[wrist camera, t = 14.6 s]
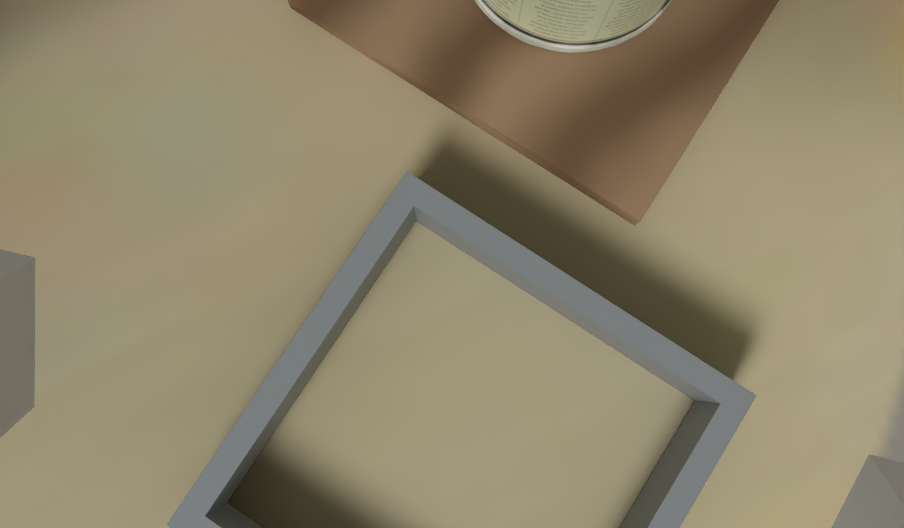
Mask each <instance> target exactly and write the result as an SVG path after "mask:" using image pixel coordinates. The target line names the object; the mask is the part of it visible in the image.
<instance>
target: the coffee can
mask: <svg viewBox="0 0 904 528" xmlns="http://www.w3.org/2000/svg"><path fill="white" fill-rule="evenodd" d="M474 1H475V2H476V4H477V5H478V6H479V7H480V9H481V10H482V11H483V12H484V13H485V14H486V16H488V17H489V18H490V19H491V20H492V21H493V22H494V23H495V24H496V25H497V26H499V27H500V28H501V29H503V30H504V31H506V32H507V33H509V34H510V35H512V36H514V37H515V38H517V39H519V40H520V41H522V42H525V43H527V44H530V45H533V46H537V47H541V48H544V49H547V50H551V51H557V52H569V53H580V52H591V51H597V50H601V49H605V48H608V47H613V46H617V45H619V44H621V43H623V42H625V41H626V40H629V39H631V38H633V37H635V36H637V35H638V34H640V33H641V32H643V31H644V30H645V29H647V28H648V27H649V26H651V25H652V24H653V23H654V22H655V21H656V20H657V19H658V18H659V17H660V16H661V15H662V14H663V12H664V11H665V10H666V9H667V7H668V6H669V5H670V3H671V2H672V0H474Z"/></svg>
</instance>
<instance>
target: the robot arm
mask: <svg viewBox="0 0 904 528" xmlns="http://www.w3.org/2000/svg"><path fill="white" fill-rule="evenodd" d="M34 391H35V258H34V257H30V256H26V255H22V254H17V253H13V252H9V251H5V250H0V437H2V436H3V435H4V434H5V433H6V432H7V431H8V430H9V429H10V428H11V427H13V426H14V425H15V424H16V423H17V422H18V421H19V420H20V419H21V418H22V417H24V416H25V415H26V414H27V413H28V412H29V411H30V410H31V409H32V408H33V407H34ZM832 528H904V463H903V462H899V461H895V460H891V459H886V458H882V457H878V456H874V455H870V454H869V455H868V457H867V459H866V461H865V463H864V465H863V467H862V469H861V471H860V473H859V475H858V477H857V479H856V481H855V483H854V485H853V487H852V489H851V491H850V493H849V494H848V496H847V498H846V500H845V502H844V504H843V506H842V508H841V510H840V512H839V514H838V516H837V518H836V520H835V522H834V524H833V526H832Z"/></svg>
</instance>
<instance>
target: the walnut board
mask: <svg viewBox="0 0 904 528" xmlns="http://www.w3.org/2000/svg"><path fill="white" fill-rule="evenodd" d="M778 1H779V0H672V2H671V3H670V5H669V6H668V7H667V9H666V10H665V11H664V12H663V14H662V15H661V16H660V17H659V18H658V19H657V20H656V21H655V22H654V23H653V24H652V25H651V26H649V27H648V28H647V29H645V30H644V31H643V32H641V33H640V34H638V35H637V36H635V37H633V38H631V39H629V40H626V41H625V42H623V43H621V44H619V45H617V46H613V47H608V48H605V49H601V50H597V51H591V52H580V53H569V52H557V51H551V50H547V49H544V48H541V47H537V46H533V45H530V44H527V43H525V42H522V41H520V40H519V39H517V38H515V37H514V36H512V35H510V34H509V33H507V32H506V31H504V30H503V29H501V28H500V27H499V26H497V25H496V24H495V23H494V22H493V21H492V20H491V19H490V18H489V17H488V16H486V14H485V13H484V12H483V11H482V10H481V9H480V7H479V6H478V5H477V4H476V2H475V1H474V0H288V2H289V4H290V7H291V8H292V9H294V10H295V11H297V12H298V13H300V14H301V15H303V16H305V17H306V18H308V19H309V20H311V21H313V22H314V23H316V24H317V25H319V26H320V27H322V28H324V29H325V30H327V31H328V32H330V33H331V34H333V35H335V36H336V37H338V38H339V39H341V40H343V41H344V42H346V43H347V44H349V45H350V46H352V47H354V48H355V49H357V50H358V51H360V52H361V53H363V54H365V55H366V56H368V57H369V58H371V59H373V60H374V61H376V62H377V63H379V64H380V65H382V66H384V67H385V68H387V69H388V70H390V71H392V72H393V73H395V74H396V75H398V76H399V77H401V78H403V79H404V80H406V81H407V82H409V83H410V84H412V85H414V86H415V87H417V88H418V89H420V90H422V91H423V92H425V93H426V94H428V95H429V96H431V97H433V98H434V99H436V100H437V101H439V102H440V103H442V104H444V105H445V106H447V107H448V108H450V109H452V110H453V111H455V112H456V113H458V114H459V115H461V116H463V117H464V118H466V119H467V120H469V121H470V122H472V123H474V124H475V125H477V126H478V127H480V128H482V129H483V130H485V131H486V132H488V133H489V134H491V135H493V136H494V137H496V138H497V139H499V140H500V141H502V142H504V143H505V144H507V145H508V146H510V147H512V148H513V149H515V150H516V151H518V152H519V153H521V154H523V155H524V156H526V157H527V158H529V159H531V160H532V161H534V162H535V163H537V164H538V165H540V166H542V167H543V168H545V169H546V170H548V171H549V172H551V173H553V174H554V175H556V176H557V177H559V178H561V179H562V180H564V181H565V182H567V183H568V184H570V185H572V186H573V187H575V188H576V189H578V190H579V191H581V192H583V193H584V194H586V195H587V196H589V197H591V198H592V199H594V200H595V201H597V202H598V203H600V204H602V205H603V206H605V207H606V208H608V209H609V210H611V211H613V212H614V213H616V214H617V215H619V216H621V217H622V218H624V219H625V220H627V221H628V222H630V223H632V224H633V225H636V224H637V223H638V222H640V221H641V219H642V218H643V216H644V215H645V213H646V211H647V210H648V208H649V207H650V205H651V203H652V202H653V200H654V199H655V197H656V195H657V194H658V192H659V191H660V189H661V187H662V186H663V184H664V183H665V181H666V179H667V178H668V176H669V175H670V173H671V171H672V170H673V168H674V167H675V165H676V163H677V162H678V160H679V159H680V157H681V155H682V154H683V152H684V151H685V149H686V148H687V146H688V144H689V143H690V141H691V140H692V138H693V136H694V135H695V133H696V132H697V130H698V128H699V127H700V125H701V124H702V122H703V120H704V119H705V117H706V116H707V114H708V112H709V111H710V109H711V108H712V106H713V104H714V103H715V101H716V100H717V98H718V96H719V95H720V93H721V92H722V90H723V88H724V87H725V85H726V84H727V82H728V81H729V79H730V77H731V76H732V74H733V73H734V71H735V69H736V68H737V66H738V65H739V63H740V61H741V60H742V58H743V57H744V55H745V53H746V52H747V50H748V49H749V47H750V45H751V44H752V42H753V41H754V39H755V37H756V36H757V34H758V33H759V31H760V29H761V28H762V26H763V25H764V23H765V21H766V20H767V18H768V17H769V15H770V14H771V12H772V10H773V9H774V7H775V6H776V4H777V2H778Z"/></svg>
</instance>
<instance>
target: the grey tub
mask: <svg viewBox="0 0 904 528" xmlns="http://www.w3.org/2000/svg"><path fill="white" fill-rule="evenodd" d="M416 221H418V222H419V223H421V224H422V225H424V226H425V227H427V228H428V229H430V230H432V231H433V232H435V233H436V234H438V235H439V236H441V237H442V238H444V239H445V240H447V241H449V242H450V243H452V244H453V245H455V246H456V247H458V248H459V249H461V250H463V251H464V252H466V253H467V254H469V255H470V256H472V257H473V258H475V259H476V260H478V261H480V262H481V263H483V264H484V265H486V266H487V267H489V268H490V269H492V270H493V271H495V272H497V273H498V274H500V275H501V276H503V277H504V278H506V279H507V280H509V281H511V282H512V283H514V284H515V285H517V286H518V287H520V288H521V289H523V290H524V291H526V292H528V293H529V294H531V295H532V296H534V297H535V298H537V299H538V300H540V301H541V302H543V303H545V304H546V305H548V306H549V307H551V308H552V309H554V310H555V311H557V312H559V313H560V314H562V315H563V316H565V317H566V318H568V319H569V320H571V321H572V322H574V323H576V324H577V325H579V326H580V327H582V328H583V329H585V330H586V331H588V332H590V333H591V334H593V335H594V336H596V337H597V338H599V339H600V340H602V341H603V342H605V343H607V344H608V345H610V346H611V347H613V348H614V349H616V350H617V351H619V352H620V353H622V354H624V355H625V356H627V357H628V358H630V359H631V360H633V361H634V362H636V363H638V364H639V365H641V366H642V367H644V368H645V369H647V370H648V371H650V372H651V373H653V374H655V375H656V376H658V377H659V378H661V379H662V380H664V381H665V382H667V383H669V384H670V385H672V386H673V387H675V388H676V389H678V390H679V391H681V392H682V393H684V394H686V395H687V396H689V397H690V398H692V399H693V400H695V401H694V403H693V405H692V406H691V408H690V410H689V411H688V413H687V415H686V416H685V418H684V420H683V421H682V423H681V425H680V426H679V428H678V430H677V431H676V433H675V435H674V437H673V438H672V440H671V442H670V443H669V445H668V447H667V448H666V450H665V452H664V453H663V455H662V457H661V458H660V460H659V462H658V463H657V465H656V467H655V468H654V470H653V472H652V474H651V475H650V477H649V479H648V480H647V482H646V484H645V485H644V487H643V489H642V490H641V492H640V494H639V495H638V497H637V499H636V500H635V502H634V504H633V505H632V507H631V509H630V510H629V512H628V514H627V516H626V517H625V519H624V521H623V522H622V524H621V526H620V527H619V528H679V527H680V526H681V524H682V522H683V521H684V519H685V517H686V515H687V514H688V512H689V510H690V509H691V507H692V505H693V503H694V502H695V500H696V498H697V497H698V495H699V493H700V491H701V490H702V488H703V486H704V485H705V483H706V481H707V479H708V478H709V476H710V474H711V473H712V471H713V469H714V467H715V466H716V464H717V462H718V461H719V459H720V457H721V455H722V454H723V452H724V450H725V449H726V447H727V445H728V443H729V442H730V440H731V438H732V437H733V435H734V433H735V431H736V430H737V428H738V426H739V425H740V423H741V421H742V419H743V418H744V416H745V414H746V413H747V411H748V409H749V407H750V406H751V404H752V402H753V401H754V399H755V397H756V395H755V394H753V393H752V392H750V391H748V390H747V389H745V388H744V387H742V386H741V385H739V384H738V383H736V382H734V381H733V380H731V379H730V378H728V377H727V376H725V375H724V374H722V373H720V372H719V371H717V370H716V369H714V368H713V367H711V366H709V365H708V364H706V363H705V362H703V361H702V360H700V359H699V358H697V357H695V356H694V355H692V354H691V353H689V352H688V351H686V350H685V349H683V348H681V347H680V346H678V345H677V344H675V343H674V342H672V341H671V340H669V339H667V338H666V337H664V336H663V335H661V334H660V333H658V332H656V331H655V330H653V329H652V328H650V327H649V326H647V325H646V324H644V323H642V322H641V321H639V320H638V319H636V318H635V317H633V316H632V315H630V314H628V313H627V312H625V311H624V310H622V309H621V308H619V307H618V306H616V305H614V304H613V303H611V302H610V301H608V300H607V299H605V298H604V297H602V296H600V295H599V294H597V293H596V292H594V291H593V290H591V289H589V288H588V287H586V286H585V285H583V284H582V283H580V282H579V281H577V280H575V279H574V278H572V277H571V276H569V275H568V274H566V273H565V272H563V271H561V270H560V269H558V268H557V267H555V266H554V265H552V264H551V263H549V262H547V261H546V260H544V259H543V258H541V257H540V256H538V255H536V254H535V253H533V252H532V251H530V250H529V249H527V248H526V247H524V246H522V245H521V244H519V243H518V242H516V241H515V240H513V239H512V238H510V237H508V236H507V235H505V234H504V233H502V232H501V231H499V230H498V229H496V228H494V227H493V226H491V225H490V224H488V223H487V222H485V221H483V220H482V219H480V218H479V217H477V216H476V215H474V214H473V213H471V212H469V211H468V210H466V209H465V208H463V207H462V206H460V205H459V204H457V203H455V202H454V201H452V200H451V199H449V198H448V197H446V196H445V195H443V194H441V193H440V192H438V191H437V190H435V189H434V188H432V187H430V186H429V185H427V184H426V183H424V182H423V181H421V180H420V179H418V178H416V177H415V176H413V175H412V174H410V173H409V172H406V173H405V175H404V176H403V178H402V179H401V181H400V182H399V184H398V185H397V187H396V188H395V190H394V191H393V192H392V194H391V195H390V197H389V198H388V200H387V201H386V203H385V204H384V206H383V207H382V209H381V210H380V212H379V213H378V215H377V216H376V217H375V219H374V220H373V222H372V223H371V225H370V226H369V228H368V229H367V231H366V232H365V234H364V235H363V237H362V238H361V240H360V241H359V243H358V244H357V245H356V247H355V248H354V250H353V251H352V253H351V254H350V256H349V257H348V259H347V260H346V262H345V263H344V265H343V266H342V268H341V269H340V270H339V272H338V273H337V275H336V276H335V278H334V279H333V281H332V282H331V284H330V285H329V287H328V288H327V290H326V291H325V293H324V294H323V295H322V297H321V298H320V300H319V301H318V303H317V304H316V306H315V307H314V309H313V310H312V312H311V313H310V315H309V316H308V318H307V319H306V320H305V322H304V323H303V325H302V326H301V328H300V329H299V331H298V332H297V334H296V335H295V337H294V338H293V340H292V341H291V343H290V344H289V345H288V347H287V348H286V350H285V351H284V353H283V354H282V356H281V357H280V359H279V360H278V362H277V363H276V365H275V366H274V368H273V369H272V370H271V372H270V373H269V375H268V376H267V378H266V379H265V381H264V382H263V384H262V385H261V387H260V388H259V390H258V391H257V393H256V394H255V396H254V397H253V398H252V400H251V401H250V403H249V404H248V406H247V407H246V409H245V410H244V412H243V413H242V415H241V416H240V418H239V419H238V421H237V422H236V423H235V425H234V426H233V428H232V429H231V431H230V432H229V434H228V435H227V437H226V438H225V440H224V441H223V443H222V444H221V446H220V447H219V448H218V450H217V451H216V453H215V454H214V456H213V457H212V459H211V460H210V462H209V463H208V465H207V466H206V468H205V469H204V471H203V472H202V473H201V475H200V476H199V478H198V479H197V481H196V482H195V484H194V485H193V487H192V488H191V490H190V491H189V493H188V494H187V496H186V497H185V498H184V500H183V501H182V503H181V504H180V506H179V507H178V509H177V510H176V512H175V513H174V515H173V516H172V518H171V519H170V521H169V522H168V523H167V525H168V526H169V527H171V528H263V527H262V526H260V525H259V524H257V523H256V522H254V521H253V520H251V519H250V518H248V517H247V516H246V515H244V514H243V513H241V512H240V511H238V510H237V509H235V508H234V507H232V506H231V505H229V504H228V503H227V502H228V500H229V499H230V497H231V496H232V494H233V493H234V491H235V490H236V488H237V487H238V485H239V484H240V482H241V481H242V479H243V478H244V476H245V475H246V473H247V472H248V470H249V469H250V467H251V466H252V464H253V463H254V461H255V460H256V458H257V457H258V456H259V454H260V453H261V451H262V450H263V448H264V447H265V445H266V444H267V442H268V441H269V439H270V438H271V436H272V435H273V433H274V432H275V430H276V429H277V427H278V426H279V424H280V423H281V421H282V420H283V418H284V417H285V415H286V414H287V412H288V411H289V409H290V408H291V406H292V405H293V403H294V402H295V400H296V399H297V397H298V396H299V394H300V393H301V391H302V390H303V388H304V387H305V385H306V384H307V383H308V381H309V380H310V378H311V377H312V375H313V374H314V372H315V371H316V369H317V368H318V366H319V365H320V363H321V362H322V360H323V359H324V357H325V356H326V354H327V353H328V351H329V350H330V348H331V347H332V345H333V344H334V342H335V341H336V339H337V338H338V336H339V335H340V333H341V332H342V330H343V329H344V327H345V326H346V324H347V323H348V321H349V320H350V318H351V317H352V315H353V314H354V312H355V311H356V310H357V308H358V307H359V305H360V304H361V302H362V301H363V299H364V298H365V296H366V295H367V293H368V292H369V290H370V289H371V287H372V286H373V284H374V283H375V281H376V280H377V278H378V277H379V275H380V274H381V272H382V271H383V269H384V268H385V266H386V265H387V263H388V262H389V260H390V259H391V257H392V256H393V254H394V253H395V251H396V250H397V248H398V247H399V245H400V244H401V242H402V241H403V239H404V238H405V237H406V235H407V234H408V232H409V231H410V229H411V228H412V226H413V225H414V223H415V222H416Z"/></svg>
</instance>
